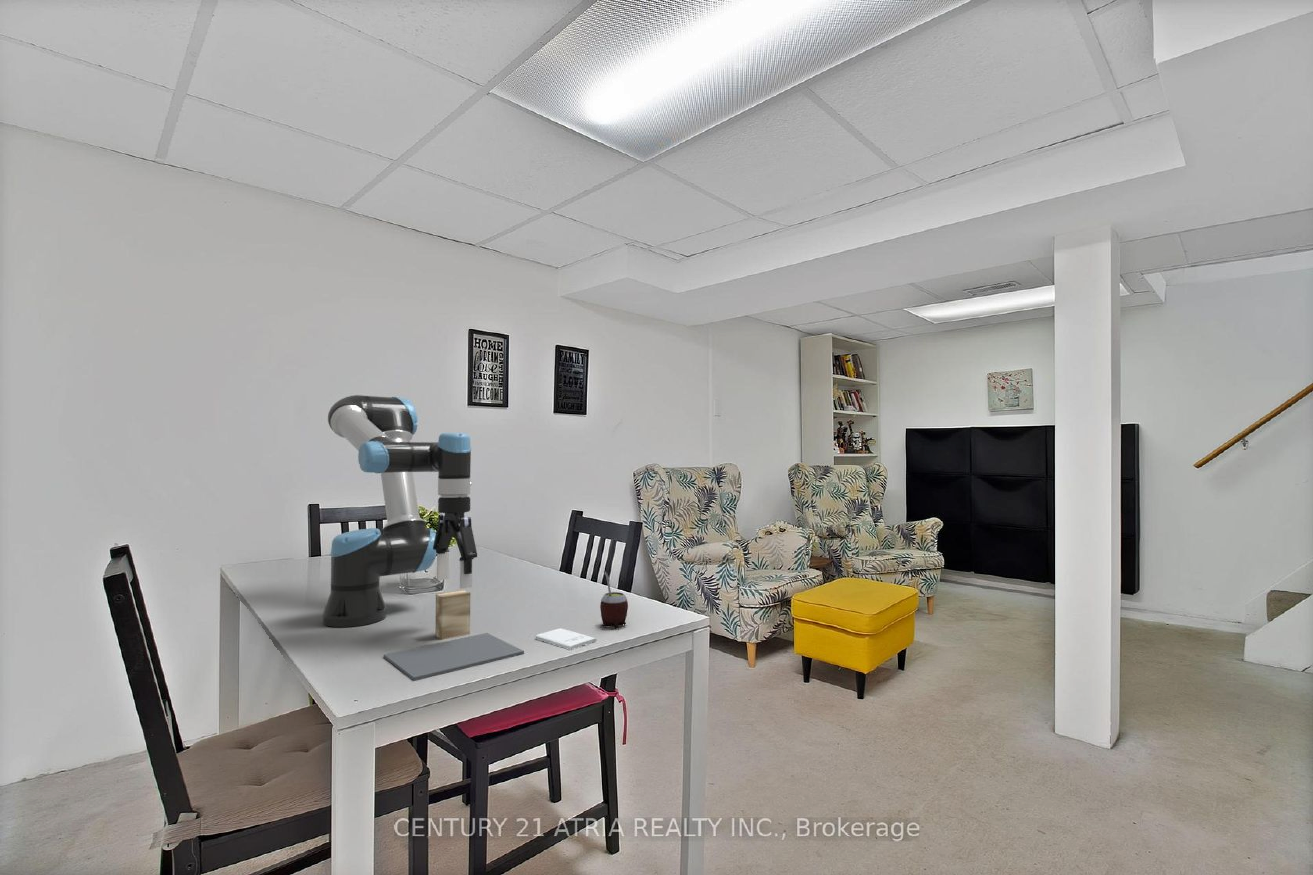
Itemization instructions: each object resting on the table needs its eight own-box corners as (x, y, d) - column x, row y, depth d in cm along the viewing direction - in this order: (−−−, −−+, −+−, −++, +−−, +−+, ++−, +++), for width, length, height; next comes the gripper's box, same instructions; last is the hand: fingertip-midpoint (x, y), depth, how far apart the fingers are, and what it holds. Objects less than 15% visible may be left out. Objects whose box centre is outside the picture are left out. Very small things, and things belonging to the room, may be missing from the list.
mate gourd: (623, 620, 160) (623, 563, 161) (632, 629, 153) (632, 569, 153) (595, 623, 158) (596, 565, 158) (603, 631, 151) (603, 571, 151)
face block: (435, 635, 147) (435, 594, 147) (463, 630, 152) (463, 589, 152) (442, 639, 144) (442, 597, 144) (470, 633, 149) (470, 592, 149)
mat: (383, 657, 131) (383, 654, 131) (486, 635, 147) (487, 632, 147) (414, 680, 118) (414, 677, 118) (524, 653, 134) (524, 650, 134)
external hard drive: (561, 634, 151) (596, 644, 143) (535, 641, 144) (570, 652, 137) (561, 627, 151) (596, 637, 143) (535, 635, 145) (570, 645, 137)
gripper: (492, 497, 142) (491, 588, 141) (448, 493, 161) (448, 574, 160) (461, 499, 137) (460, 593, 136) (420, 494, 156) (419, 578, 155)
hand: (454, 583), depth 148 cm, fingers open, 13 cm apart
